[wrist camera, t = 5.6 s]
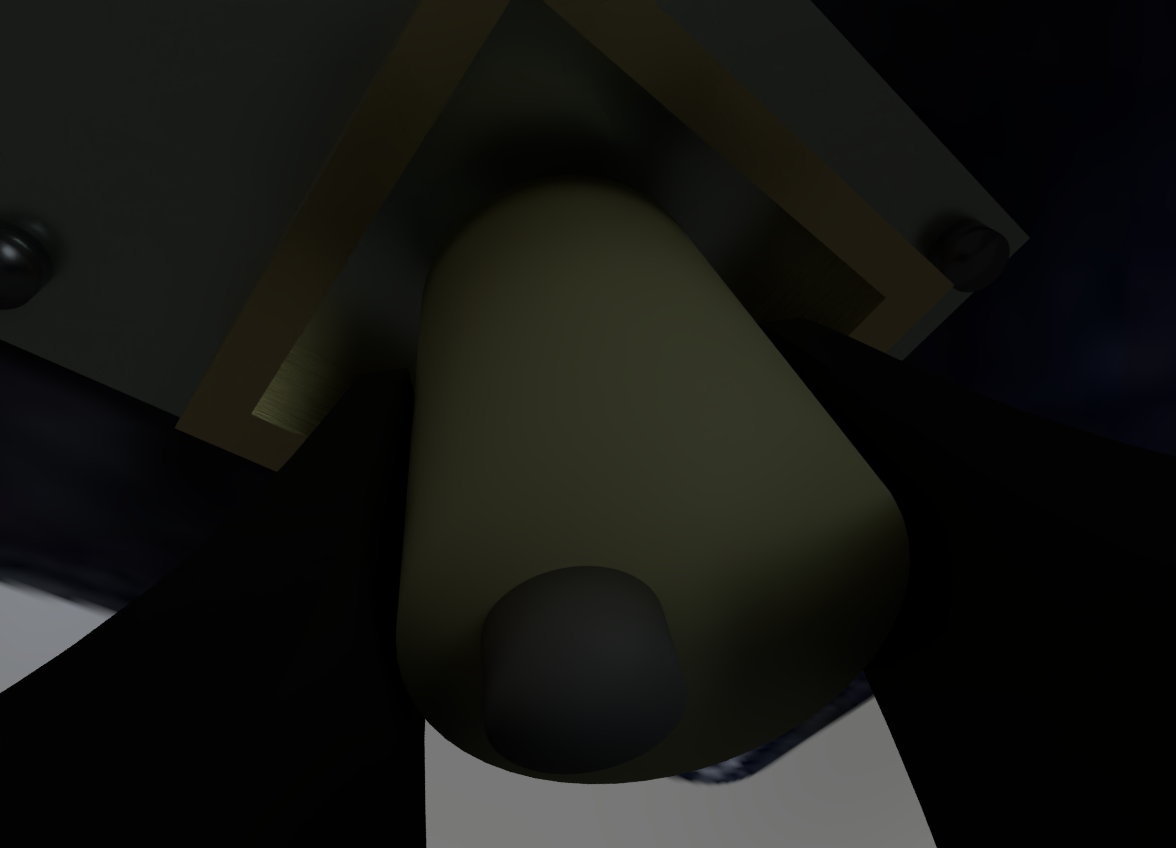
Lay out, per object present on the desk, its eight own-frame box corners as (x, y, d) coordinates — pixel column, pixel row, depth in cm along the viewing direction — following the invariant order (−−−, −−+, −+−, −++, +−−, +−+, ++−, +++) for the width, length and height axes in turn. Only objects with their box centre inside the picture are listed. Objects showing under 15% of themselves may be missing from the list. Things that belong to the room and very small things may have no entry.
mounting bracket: (998, 220, 15) (1126, 291, 12) (628, 586, 20) (659, 701, 17) (211, -617, 8) (80, -911, 5) (-94, 257, 12) (-255, 360, 10)
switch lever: (736, 193, 11) (1066, 490, 5) (672, 443, 14) (847, 844, 8) (427, 156, 10) (394, 469, 4) (415, 432, 13) (385, 881, 7)
